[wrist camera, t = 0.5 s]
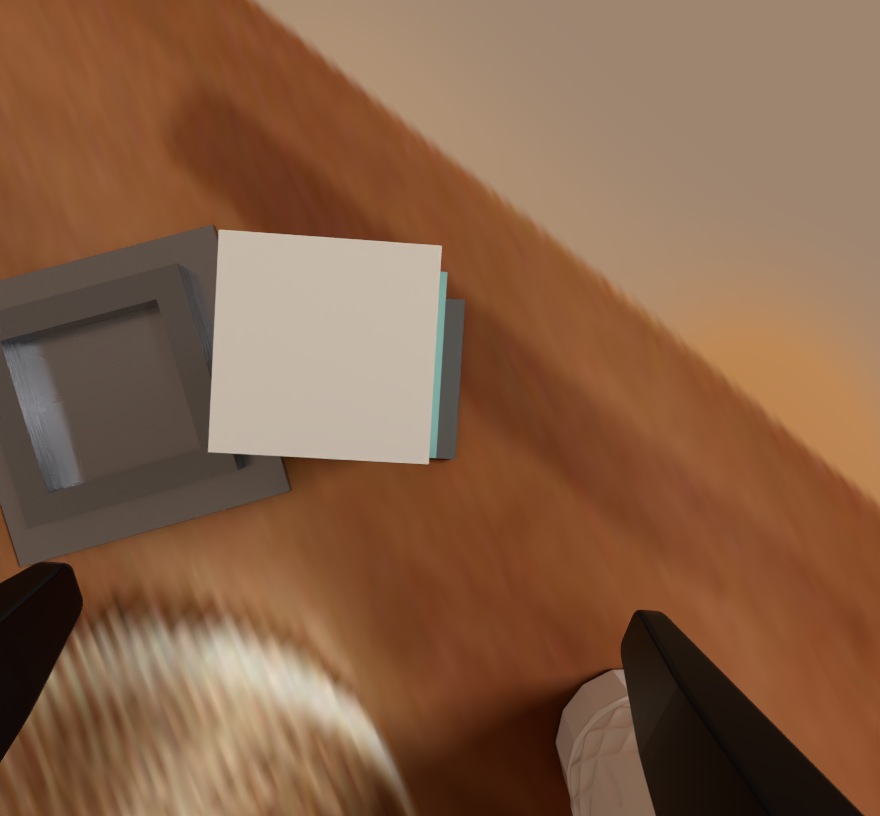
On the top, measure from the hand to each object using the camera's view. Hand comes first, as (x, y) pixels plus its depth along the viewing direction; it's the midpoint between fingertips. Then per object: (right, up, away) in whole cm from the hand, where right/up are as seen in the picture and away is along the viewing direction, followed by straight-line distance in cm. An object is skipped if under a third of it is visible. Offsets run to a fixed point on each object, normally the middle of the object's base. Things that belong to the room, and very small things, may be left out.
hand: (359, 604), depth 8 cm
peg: (-1, +5, +14) cm, 15 cm away
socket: (-13, +4, +14) cm, 19 cm away
